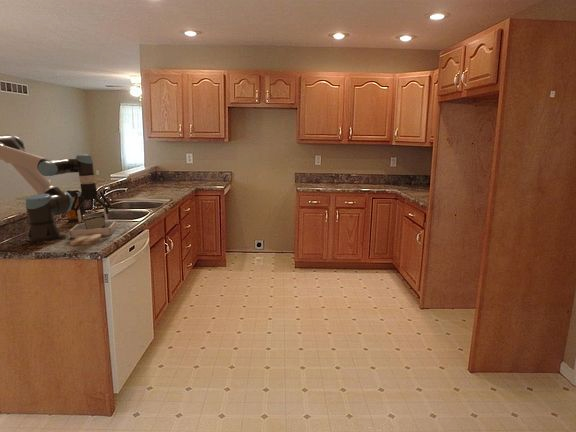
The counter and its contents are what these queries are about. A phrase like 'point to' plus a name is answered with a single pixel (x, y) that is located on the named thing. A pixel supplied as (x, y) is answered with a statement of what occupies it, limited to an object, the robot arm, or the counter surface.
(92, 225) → the food container
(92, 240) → the board
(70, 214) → the canister
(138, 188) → the counter surface
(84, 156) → the robot arm
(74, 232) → the bin
